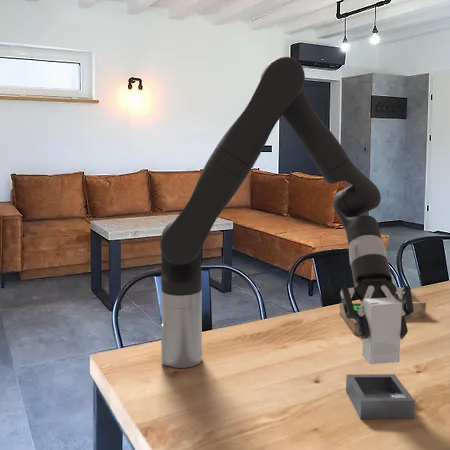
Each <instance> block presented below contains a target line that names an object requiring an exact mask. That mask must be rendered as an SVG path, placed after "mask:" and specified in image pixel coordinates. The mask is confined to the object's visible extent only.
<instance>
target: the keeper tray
mask: <svg viewBox="0 0 450 450" xmlns="http://www.w3.org/2000/svg"><path fill="white" fill-rule="evenodd" d="M345 392H346V394H347V396H348V398H349V400H350V402H351V403H352V406H353V407H354V410H355V412H356V413H357V415H358V418H359V419H360V420H390V419H391V420H402V419H403V420H408V419H410V420H412V419H414V416H415V403H416V400H415V399H414V398H413V396H412V395H411V394H410V392H409V391H408V390H407V388H406V387H405V386H404V384H403V383H402V382H401V381H400V380H399V378H398V377H397V375H396V374H394V373H387V374H384V373H383V374H381V373H380V374H379V373H377V374H369V373H368V374H363V373H362V374H358V373H357V374H356V373H355V374H346V375H345Z"/></svg>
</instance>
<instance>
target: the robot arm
mask: <svg viewBox="0 0 450 450" xmlns="http://www.w3.org/2000/svg"><path fill="white" fill-rule="evenodd" d="M259 79H260V81H259V83H258V84H257V87H256V88H255V91H254V92H253V94H252V96H251V98H250V100H249V102H248V103H247V105H246V107H245V108H244V110H243V111H242V112H241V113H240V115H239V116H238V117H237V118H236V120H235V121H234V122H233V123H232V125H231V126H230V127H229V129H227V130H226V133H225V134H224V135H223V136H222V138H221V139H220V141H219V142H218V144H216V147H215V148H214V150H213V151H212V153H211V155H210V156H209V158H208V160H207V161H206V163H205V165H204V167H203V169H202V171H201V173H200V176H198V180H197V181H196V184H195V187H194V189H193V191H192V194H191V196H190V198H189V199H188V201H187V203H186V204H185V206H184V207H183V209H182V210H181V212H179V214H178V216H177V217H176V219H174V220H173V221H171V222H169V223H168V224H167V225H166V226H165V228H163V231H162V233H161V235H160V236H161V237H160V240H159V241H160V243H159V246H160V250H161V251H160V253H161V280H160V281H161V283H160V284H161V286H160V287H161V320H162V322H161V325H160V336H161V337H160V340H161V341H160V342H161V346H160V347H161V350H160V351H161V352H160V353H161V365H162V366H166V367H167V366H168V367H171V368H174V369H184V368H186V369H187V368H192V367H196V366H197V365H199V364H201V362H202V361H203V347H202V346H203V334H202V333H203V332H202V331H203V330H202V329H203V327H202V326H203V325H202V323H203V322H202V320H203V318H202V317H203V316H202V248H203V246H204V243H205V242H206V239H207V238H208V236H209V234H210V232H211V230H212V228H213V226H214V224H215V222H216V221H217V219H218V217H219V216H220V214H221V213H222V212H223V211H224V209H225V208H226V207H227V205H228V204H229V203H230V202H231V200H232V198H233V197H234V196H235V194H236V193H237V191H238V190H239V189H240V187H241V186H242V185H243V183H244V182H245V180H246V178H247V177H248V176H249V173H251V170H252V169H253V168H254V165H255V164H256V162H257V160H258V159H259V157H260V155H261V153H262V151H263V150H264V148H265V145H266V143H267V141H268V139H269V138H270V135H271V134H272V131H273V129H274V127H275V126H276V124H277V123H278V121H279V120H281V117H283V118H284V119H285V121H286V122H287V123H288V125H289V126H290V127H291V128H292V130H293V132H295V133H294V134H296V137H298V140H299V141H300V142H301V144H302V145H303V147H304V149H305V150H306V152H307V154H308V155H309V157H310V158H311V160H312V162H313V164H314V165H315V167H316V168H317V170H318V171H319V173H320V174H321V176H322V178H323V179H324V181H325V182H326V183H327V184H329V185H330V184H337V183H340V182H346V183H349V184H350V186H347V187H345V188H344V189H343V188H342V190H339V191H338V192H337V193H336V194H335V195H334V197H333V200H332V205H333V207H332V208H333V209H334V212H335V213H336V215H337V216H338V218H339V220H340V222H341V223H342V226H343V228H344V230H345V233H346V239H347V244H348V256H349V258H348V259H349V265H350V267H351V268H350V269H351V273H352V279H353V285H354V286H353V287H348V286H346V285H344V286H342V288H341V291H340V293H339V296H340V300H341V303H342V304H343V307H344V311H345V315H346V317H347V318H348V319H350V318H352V319H355V320H356V322H357V327H358V332H359V335H358V336H359V337H362V340H363V339H367V338H368V336H369V332H368V327H367V321H366V317H364V314H365V311H364V299H373V298H389V297H392V298H394V294H395V293H396V294H398V296H399V298H400V299H402V305H403V309H402V312H401V335H400V340H402V339H404V338H405V337H406V335H407V334H408V326H407V320H406V319H410V318H409V317H410V316H411V314H412V313H413V311H414V310H413V303H412V295H411V292H412V289H411V287H410V286H409V285H404V287H399V286H398V287H397V286H396V285H395V284H394V281H393V277H392V272H391V269H390V264H389V260H388V257H387V256H388V254H387V251H386V247H385V245H384V242H383V238H382V235H381V231H380V227H379V223H378V221H377V219H376V218H375V217H373V216H372V215H366V213H368V212H370V211H372V210H375V209H376V208H377V207H378V206H380V203H381V201H382V197H381V192H380V189H379V188H378V187H377V185H376V184H375V183H374V182H373V181H372V180H371V179H369V178H368V177H367V176H366V175H364V173H362V171H360V169H358V167H356V166H355V164H354V163H353V162H352V161H351V159H350V158H349V156H348V154H347V152H346V151H345V150H344V148H343V146H342V145H341V142H339V140H338V139H337V138H336V136H335V135H334V134H333V132H332V131H331V130H330V128H328V127H327V126H326V125H325V124H324V122H323V121H322V120H321V119H320V117H319V116H318V115H317V113H316V112H315V111H314V109H313V108H312V106H311V105H310V102H309V101H308V99H307V97H306V95H305V92H304V91H303V89H304V85H305V83H306V82H305V81H306V75H305V70H304V67H303V65H302V63H300V61H299V60H297V58H294V57H290V56H281V57H278V58H274V60H272V61H270V62H269V63H268V64H267V65H266V66H265V67H264V69H263V71H262V73H261V77H260V78H259ZM364 214H365V215H364ZM353 296H355V297H356V298H357V299H358V300H359V301H360V303H361V305H360V307H359V310H358V311H357V310H354V307H353V303H354V302H353V301H352V298H353ZM394 299H395V298H394Z"/></svg>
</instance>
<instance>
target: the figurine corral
mask: <svg viewBox="0 0 450 450" xmlns="http://www.w3.org/2000/svg"><path fill="white" fill-rule="evenodd" d="M411 295H412V303H413V310H414V311H413V313H412V314H411V316H410V317H409V318H408V319H413V318H416V319H417V318H419V319H420V318H422V319H424V318H425V319H426V311H427V310H426V309H427V302H426V301H424V300H423V299H421V298H420V297H419V296H417V294H415V293H413V292H412V291H411ZM401 303H402V302H401ZM402 309H403V305H402Z"/></svg>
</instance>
